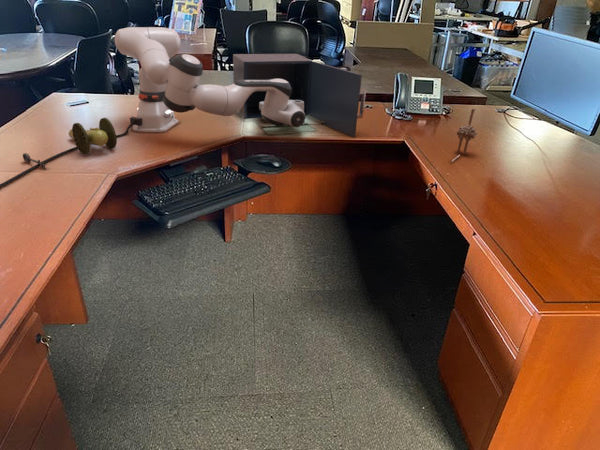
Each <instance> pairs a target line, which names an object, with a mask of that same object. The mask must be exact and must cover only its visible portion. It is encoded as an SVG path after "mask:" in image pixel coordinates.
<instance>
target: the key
mask: <svg viewBox="0 0 600 450" xmlns="http://www.w3.org/2000/svg"><path fill="white" fill-rule="evenodd" d="M22 158H23V161H24V162H25V163H28V164H29V163H31V162H34V163H36V164H40V165H41V166H40V168H41V169H42V170H46V163H45V164H44V163H43V161H44V160H40V159H38V160H36V159H33V158H31V155H30V154H29V153H26V152H23V153H22ZM41 162H42V163H41Z"/></svg>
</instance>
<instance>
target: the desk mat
mask: <svg viewBox="0 0 600 450" xmlns="http://www.w3.org/2000/svg"><path fill="white" fill-rule="evenodd" d="M261 129H262V130H263V131H264V132H265V133H266V134H267V135H268V136H269V135H282V134H283V135H285V134H293V133H294V134H295V133H308V132H316V130H317V129H314V128H313V127H312V126H310V124H308V123H303V124H302V125H301V126H300V127H292V126H290V125H288V124H285V125H282V126H276V125H266V126H265V125H263V126H261Z"/></svg>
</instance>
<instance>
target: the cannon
mask: <svg viewBox="0 0 600 450" xmlns="http://www.w3.org/2000/svg"><path fill="white" fill-rule="evenodd" d="M116 135H117V133H116V130H115V127H114V125H113V123H112V121H111V120H109V118H107V117H102V118H100V120H99V122H98V127H89V129H85V128H84V126H83V125H82V124H81V123H79V122H74V123H73V124H72V126H71V129H70V130H69V131H68V136H69V138H70V139H72V140H73V141H74V144H75V147H77V148H78V149H77V150H78V151H79V152H80V154H81V155H84V156H86V155H89V154H90V152H91V145H93V146H98V147H103V146H106V147H107V148H108V149H110V150H111V149H115V148H116V147H117V144H118V137H116ZM90 144H91V145H90Z"/></svg>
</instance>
